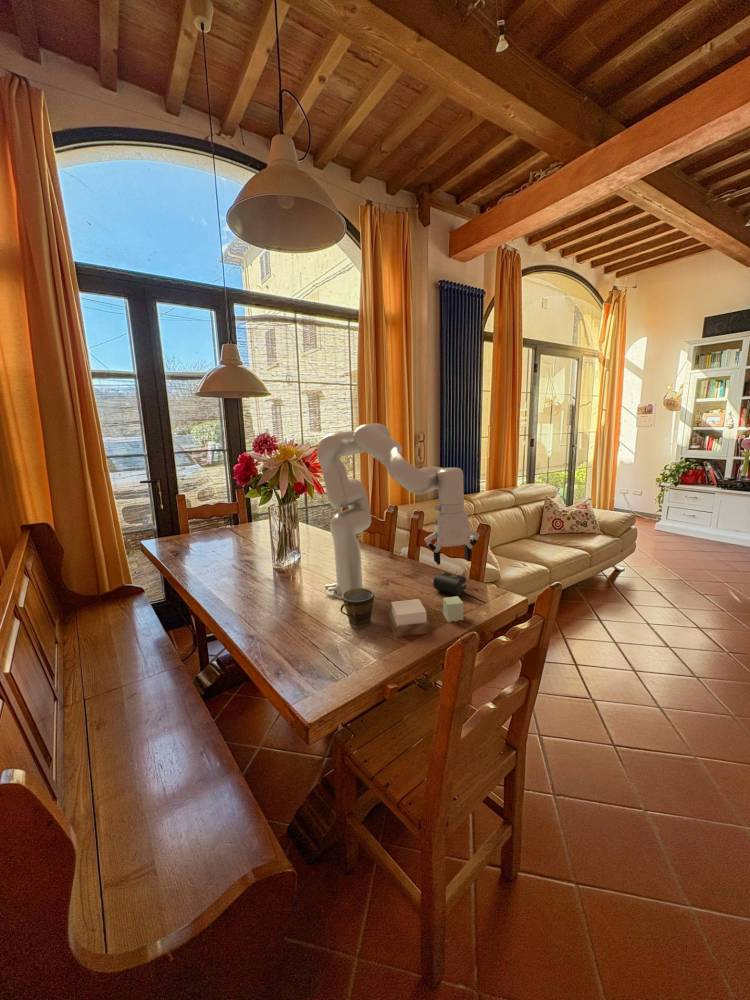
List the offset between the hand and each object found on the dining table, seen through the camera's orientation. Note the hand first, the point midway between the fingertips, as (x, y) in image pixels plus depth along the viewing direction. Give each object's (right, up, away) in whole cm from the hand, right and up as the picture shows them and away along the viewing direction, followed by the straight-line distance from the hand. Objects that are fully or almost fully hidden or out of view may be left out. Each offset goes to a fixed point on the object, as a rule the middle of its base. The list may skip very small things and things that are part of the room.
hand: (452, 561), depth 126 cm
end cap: (+3, -15, +22) cm, 27 cm away
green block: (+1, -19, +4) cm, 19 cm away
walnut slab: (-14, -21, 0) cm, 25 cm away
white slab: (-14, -17, -1) cm, 22 cm away
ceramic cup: (-30, -21, +2) cm, 37 cm away
